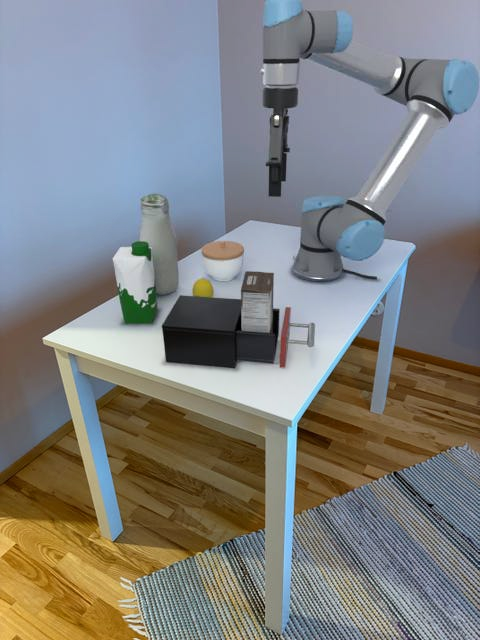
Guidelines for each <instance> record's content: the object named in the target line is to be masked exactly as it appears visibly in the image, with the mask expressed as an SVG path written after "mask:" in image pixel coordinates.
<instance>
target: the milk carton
mask: <svg viewBox="0 0 480 640" xmlns="http://www.w3.org/2000/svg"><path fill="white" fill-rule="evenodd" d="M112 263H113V267H114V268H113V269H114V274H115V275H114V276H115V280H116V287H117V292H118V297H119V304H120V308H121V313H122V317H123V322H124V324H153V323H154V320H155V317H156V315H157V312H158V294H157V293H156V285H155V276H154V268H153V258H152V247H149V245H148V243H147V242H144V241H139V240H138V241H135V242H133V243H131V246H120V247H119V248H118V250H117V251H116V253H115V254H114V255H113V257H112Z"/></svg>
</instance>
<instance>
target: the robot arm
mask: <svg viewBox="0 0 480 640" xmlns="http://www.w3.org/2000/svg"><path fill="white" fill-rule="evenodd" d="M262 17H263V18H262V25H261V26H262V68H260V70H259V73H260V74H261V75H263V76H262V84H263V85H264V86H265V87H263V89H262V100H261V101H262V102H261V104H262V107H264V108H266V109H273V111H272V114H271V115H270V117H269V147H268V160H267V161H265V167H268V197H269V198H270V197H272V198H280V197H282V182H287V162H288V161H287V160H288V153H290V151H291V148H290V147H289V145H288V132H289V123H290V115H288V113H289V109H293V108H296V107H297V106H298V101H299V100H298V99H299V88H298V87H297V86H298V85H299V83H300V68H301V67H300V65H301V63H300V61H301V60H300V59H302V60H305V61H308V62H309V63H312V64H315V65H317V66H319V67H323V68H325V69H327V70H330V71H333V72H335V73H337V74H339V75H342V76H344V77H347V78H349V79H353V80H355V81H358V82H360V83H362V84H365V85H367V86H370V87H373V90H374V92H375V93H377V94H378V95H381V96H383V97H386V98H388V99H390V100H392V101H394V102H396V103H398V104H401V105H403V106H405V107H406V108H407V109H406V110H407V114H406V116H405V117H404V119H403V120H402V122H401V123H400V125H399V127H398V129H397V130H396V132H395V133H394V135H393V137H392V139H391V140H390V142H389V143H388V145H387V146H386V148H385V150H384V151H383V153H382V154H381V156H380V158H379V159H378V161H377V163H376V164H375V166H374V167H373V169H372V170H371V172H370V173H369V176H368V177H367V178H366V181H365V182H364V183H363V185H362V187H361V188H360V190H359V192H358V193H357V195H356V196H352V197H349V198H348V199H347V200H346V201H345V199H344V198H343V197H342V196H337V195H318V196H312V197H308V198H306V199H305V200H304V201H303V203H302V205H301V212H300V213H301V219H300V221H301V223H300V238H299V239H300V240H299V241H300V242H299V249H298V251H297V254H296V256H294V255H292V260H293V265H292V273H293V274H294V275H295V276H296V277H297V278H299V279H301V280H303V281H307V282H313V283H329V282H333V281H337V280H339V279H340V278H342V277H343V275H344V273H345V274H350V275H353V276H356V277H359V278H363V279H368V280H376V281H377V279H378V276H374V275H367V274H362V273H359V272H356V271H353V270H349V269H346V268H344V265H343V260H342V257H343V258H344V259H349V260H350V261H353V262H361V261H364V260H367V259H369V258H371V257H373V256H374V255H375V254H376V253H378V251H379V250H380V249H381V247H382V246H383V243H384V242H385V234H386V230H385V227H384V225H385V224H386V222H387V216H386V211H387V210H388V209H389V207H390V205H391V204H392V202H393V200H394V199H395V197H396V196H397V194H398V192H399V191H400V190H401V188H402V187H403V185H404V184H405V182H406V180H407V178H408V177H409V176H410V173H411V172H412V170H413V169H414V168H415V166H416V165H417V163H418V162H419V160H420V159H421V156H422V155H423V153H424V152H425V150H426V149H427V147H428V146H429V144H430V143H431V141H432V139H433V138H434V136H435V135H436V133H437V131H438V130H440V129H443V128H446V127H448V126H449V124H450V123H451V121H452V119H453V118H454V117H455V115H456V116H458V115H463V114H464V113H467V112H468V111H469V110H470V109H471V108H472V107H473V106H474V103H475V101H476V100H477V97H478V94H479V88H480V75H479V71H478V69H477V67H476V66H475V64H474V63H473V62H471V61H470V60H465V59H459V58H452V59H439V58H438V59H435V58H433V59H432V58H407V57H401V56H400V55H398V54H389V55H386V54H384V53H382V52H380V51H377V50H374V49H373V48H371V47H368V46H366V45H365V44H362V43H359V42H358V41H355V40H352V39H353V33H354V23H353V19H352V17H351V15H350V14H349V13H348V12H346V11H342V10H341V11H339V10H336V9H334V10H307V9H306V10H305V9H304V8H303V0H265V2H264V6H263V16H262Z"/></svg>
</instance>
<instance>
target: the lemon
mask: <svg viewBox="0 0 480 640" xmlns="http://www.w3.org/2000/svg"><path fill="white" fill-rule="evenodd" d="M192 296H198V297H213V298H214V287H213V284H212V282H211V281H210V280H209V279H207V278H204V277H201V278H198V279H197V280H196V281H194V284H193V285H192Z"/></svg>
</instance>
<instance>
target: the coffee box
mask: <svg viewBox="0 0 480 640" xmlns="http://www.w3.org/2000/svg"><path fill="white" fill-rule="evenodd" d="M274 277H275V273H274V272H265V271H253V270H252V271H250V270H247V271H245V272H244V276H243V279H242V280H243V281H242V284H241V289H240V299H241V326H242V331H250V332H263V333H273V308H274Z"/></svg>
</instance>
